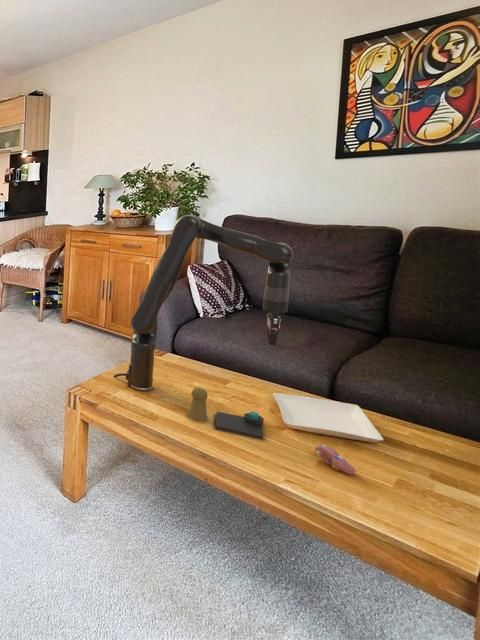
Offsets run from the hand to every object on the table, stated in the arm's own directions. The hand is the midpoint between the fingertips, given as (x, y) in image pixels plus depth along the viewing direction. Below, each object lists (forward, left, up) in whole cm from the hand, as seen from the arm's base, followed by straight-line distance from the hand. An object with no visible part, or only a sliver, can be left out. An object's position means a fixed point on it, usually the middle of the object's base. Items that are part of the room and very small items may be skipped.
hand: (271, 341), depth 173 cm
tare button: (-4, -13, -25) cm, 28 cm away
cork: (-21, -17, -28) cm, 39 cm away
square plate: (+18, +1, -28) cm, 33 cm away
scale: (-8, -17, -28) cm, 33 cm away
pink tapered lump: (+17, -30, -28) cm, 44 cm away
